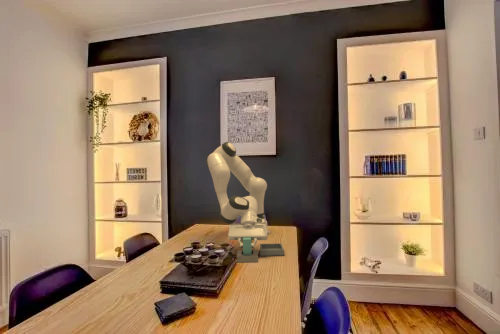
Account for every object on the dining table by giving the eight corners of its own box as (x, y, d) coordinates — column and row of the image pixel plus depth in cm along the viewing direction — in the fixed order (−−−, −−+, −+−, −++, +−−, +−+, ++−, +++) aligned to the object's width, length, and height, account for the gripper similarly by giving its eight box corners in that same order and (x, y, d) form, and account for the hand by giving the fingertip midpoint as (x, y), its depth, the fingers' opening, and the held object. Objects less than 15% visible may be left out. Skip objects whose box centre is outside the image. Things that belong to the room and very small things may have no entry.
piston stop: (243, 257, 128) (243, 237, 129) (251, 257, 128) (251, 237, 129) (243, 260, 124) (242, 239, 125) (251, 260, 124) (251, 239, 125)
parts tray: (260, 249, 141) (259, 243, 141) (281, 248, 141) (281, 243, 141) (260, 256, 129) (260, 250, 129) (284, 255, 129) (284, 249, 129)
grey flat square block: (238, 255, 131) (237, 249, 132) (257, 255, 131) (257, 249, 131) (236, 262, 121) (236, 256, 122) (257, 262, 121) (257, 255, 121)
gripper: (228, 220, 135) (225, 243, 125) (267, 219, 133) (267, 243, 123) (230, 226, 139) (227, 250, 129) (268, 226, 137) (267, 250, 127)
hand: (247, 247), depth 126 cm, fingers closed on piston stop, 4 cm apart
